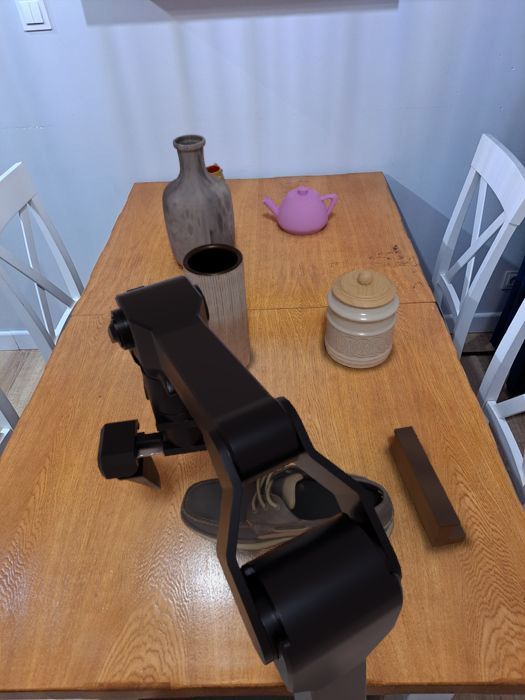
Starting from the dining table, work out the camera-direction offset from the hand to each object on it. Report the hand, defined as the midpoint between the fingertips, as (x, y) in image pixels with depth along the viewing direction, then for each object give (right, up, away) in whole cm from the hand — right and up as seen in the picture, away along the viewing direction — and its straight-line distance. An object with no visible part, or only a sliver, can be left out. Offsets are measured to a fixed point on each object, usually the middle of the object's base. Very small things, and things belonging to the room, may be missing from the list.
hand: (198, 481), depth 59 cm
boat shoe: (+11, -8, +11) cm, 18 cm away
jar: (+26, +16, +37) cm, 49 cm away
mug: (-7, +68, +98) cm, 119 cm away
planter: (+1, +14, +37) cm, 39 cm away
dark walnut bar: (+32, -5, +13) cm, 34 cm away
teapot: (+18, +50, +76) cm, 93 cm away
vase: (-6, +37, +63) cm, 73 cm away
